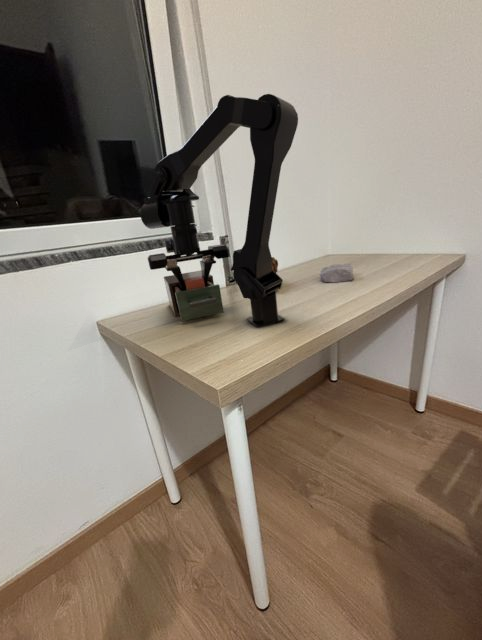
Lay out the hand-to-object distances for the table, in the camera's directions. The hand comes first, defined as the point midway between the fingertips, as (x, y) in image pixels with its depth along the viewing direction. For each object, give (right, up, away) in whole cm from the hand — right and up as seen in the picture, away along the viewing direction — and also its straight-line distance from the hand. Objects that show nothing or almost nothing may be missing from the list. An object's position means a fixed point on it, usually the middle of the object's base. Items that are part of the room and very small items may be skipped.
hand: (195, 292), depth 76 cm
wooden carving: (+21, +6, +23) cm, 32 cm away
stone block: (+42, +9, +23) cm, 48 cm away
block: (0, -1, 0) cm, 1 cm away
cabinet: (-3, -2, +12) cm, 13 cm away
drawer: (+1, -5, +1) cm, 5 cm away
